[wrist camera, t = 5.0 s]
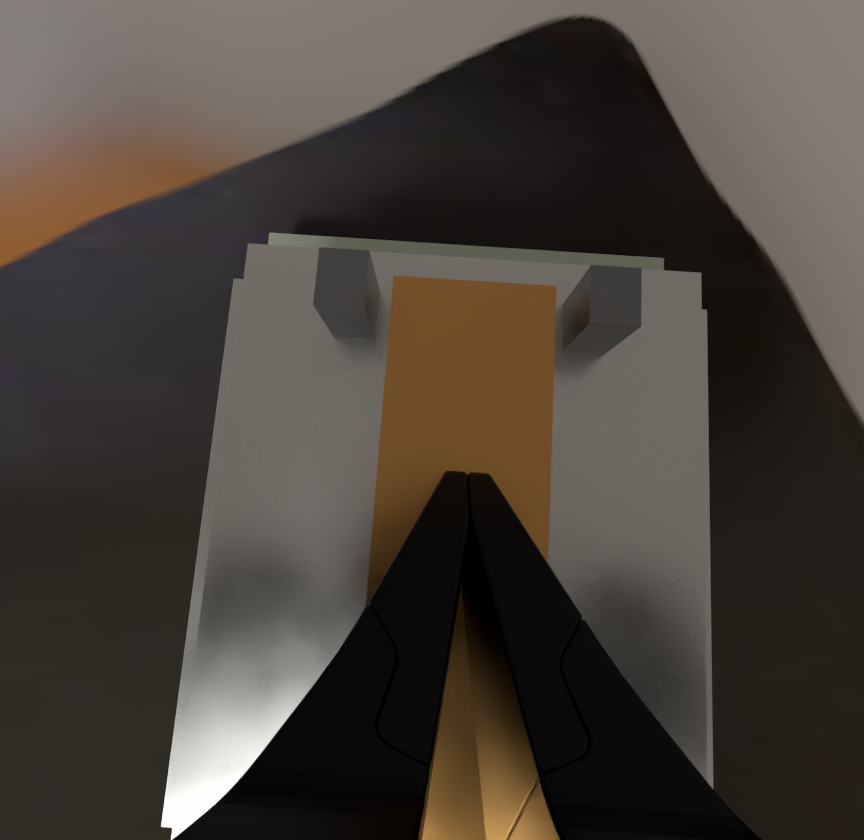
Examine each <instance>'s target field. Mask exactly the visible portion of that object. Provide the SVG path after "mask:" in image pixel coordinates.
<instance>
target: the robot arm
mask: <svg viewBox="0 0 864 840" xmlns="http://www.w3.org/2000/svg"><path fill="white" fill-rule="evenodd" d="M460 587H461V588H462V601H463V611H464V621H465V631H466V642H467V652H468V662H469V672H470V682H471V692H472V702H473V712H474V722H475V733H476V743H477V753H478V763H479V773H480V783H481V793H482V803H483V813H484V824H485V834H486V840H762V839H761V838H760V837H758V836H757V835H756V834H755V833H754V832H753V831H752V830H751V829H750V828H749V827H748V826H746V825H745V824H744V823H743V822H742V821H741V820H740V819H739V818H738V817H737V816H736V815H735V814H734V812H733V811H732V810H731V809H730V808H729V807H728V806H727V805H726V804H725V803H724V802H723V801H722V799H721V798H720V797H719V796H718V795H717V793H716V792H715V791H714V790H713V789H712V787H711V786H710V785H709V784H708V782H707V781H706V780H705V779H704V777H703V776H702V775H701V774H700V772H699V771H698V770H697V769H696V767H695V766H694V765H693V764H692V762H691V761H690V760H689V759H688V757H687V756H686V755H685V754H684V752H683V751H682V750H681V749H680V747H679V746H678V745H677V744H676V742H675V741H674V740H673V739H672V737H671V736H670V735H669V734H668V732H667V731H666V730H665V729H664V727H663V726H662V725H661V724H660V722H659V721H658V720H657V719H656V717H655V716H654V715H653V714H652V712H651V711H650V710H649V709H648V707H647V706H646V705H645V704H644V702H643V701H642V700H641V698H640V697H639V696H638V694H637V693H636V692H635V691H634V689H633V688H632V687H631V685H630V684H629V683H628V681H627V680H626V679H625V678H624V676H623V675H622V674H621V672H620V671H619V670H618V668H617V667H616V665H615V664H614V662H613V661H612V660H611V658H610V657H609V655H608V654H607V652H606V651H605V649H604V648H603V647H602V645H601V644H600V642H599V641H598V639H597V638H596V636H595V635H594V633H593V631H592V630H591V628H590V627H589V625H588V624H587V622H586V621H585V620H582V615H581V613H580V612H579V610H578V609H577V607H576V606H575V604H574V602H573V601H572V599H571V598H570V596H569V595H568V593H567V592H566V590H565V589H564V587H563V586H562V584H561V582H560V581H559V579H558V578H557V576H556V575H555V573H554V572H553V570H552V569H551V567H550V566H549V564H548V563H547V561H546V559H545V558H544V556H543V555H542V553H541V552H540V550H539V549H538V547H537V546H536V544H535V543H534V541H533V539H532V538H531V536H530V535H529V533H528V532H527V530H526V529H525V527H524V526H523V524H522V523H521V521H520V519H519V518H518V516H517V515H516V513H515V512H514V510H513V509H512V507H511V506H510V504H509V503H508V501H507V500H506V498H505V496H504V495H503V493H502V492H501V490H500V489H499V487H498V486H497V484H496V483H495V481H494V480H493V478H492V477H491V475H490V474H488V473H479V472H470V473H468V475H467V473H466V472H464V471H449V470H448V471H446V472H445V473H444V474H443V476H442V477H441V479H440V481H439V483H438V484H437V486H436V488H435V489H434V491H433V493H432V494H431V496H430V498H429V500H428V501H427V503H426V505H425V506H424V508H423V510H422V512H421V513H420V515H419V517H418V518H417V520H416V522H415V523H414V525H413V527H412V529H411V530H410V532H409V534H408V535H407V537H406V539H405V541H404V542H403V544H402V546H401V547H400V549H399V551H398V552H397V554H396V556H395V558H394V559H393V561H392V563H391V564H390V566H389V568H388V570H387V571H386V573H385V575H384V576H383V578H382V580H381V581H380V583H379V585H378V587H377V588H376V590H375V592H374V593H373V595H372V597H371V598H370V600H369V605H366V607H365V608H364V610H363V612H362V613H361V615H360V617H359V618H358V620H357V622H356V624H355V625H354V627H353V628H352V630H351V631H350V633H349V635H348V636H347V638H346V639H345V641H344V643H343V644H342V646H341V647H340V649H339V650H338V652H337V653H336V655H335V656H334V657H333V659H332V660H331V662H330V663H329V664H328V666H327V667H326V668H325V670H324V671H323V673H322V674H321V675H320V677H319V678H318V680H317V681H316V682H315V684H314V685H313V686H312V687H311V689H310V690H309V691H308V693H307V694H306V695H305V697H304V698H303V699H302V700H301V702H300V703H299V704H298V706H297V707H296V708H295V710H294V711H293V712H292V713H291V715H290V716H289V717H288V719H287V720H286V721H285V723H284V724H283V725H282V726H281V728H280V729H279V730H278V732H277V733H276V734H275V736H274V737H273V738H272V740H271V741H270V742H269V743H268V745H267V746H266V747H265V749H264V750H263V751H262V753H261V754H260V755H259V756H258V758H257V759H256V760H255V761H254V763H253V764H252V765H251V766H250V768H249V769H248V770H247V771H246V772H245V773H244V775H243V776H242V777H241V778H240V779H239V780H238V781H237V783H236V784H235V785H234V786H233V787H232V788H231V789H230V790H229V791H228V792H227V793H226V794H225V795H224V796H223V797H222V798H221V799H220V800H219V801H218V802H217V803H216V804H215V805H213V806H212V807H211V808H210V809H209V810H208V811H207V812H205V813H204V814H203V815H202V816H200V817H199V818H198V819H197V820H196V821H194V822H193V823H192V824H191V825H190V826H188V827H187V828H186V829H185V830H183V831H182V832H181V833H180V834H179V835H177V836H176V837H175V838H174V839H172V840H422V836H423V830H424V823H425V817H426V810H427V804H428V797H429V791H430V784H431V778H432V771H433V765H434V758H435V751H436V745H437V738H438V732H439V725H440V719H441V712H442V706H443V699H444V693H445V686H446V680H447V673H448V666H449V660H450V653H451V647H452V640H453V634H454V627H455V621H456V614H457V608H458V601H459V594H460Z"/></svg>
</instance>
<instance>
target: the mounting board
mask: <svg viewBox="0 0 864 840" xmlns="http://www.w3.org/2000/svg"><path fill="white" fill-rule="evenodd" d="M268 245H280V246H295V247H311V248H319V247H323V248H339V249H354V250H369V251H373V252H388V253H404V254H419V255H435V256H450V257H465V258H481V259H496V260H512V261H527V262H543V263H558V264H574V265H589V266H591V265H601V266H617V267H632V268H642V269H651V270H664V258H655V257H639V256H624V255H608V254H593V253H577V252H562V251H546V250H531V249H515V248H500V247H484V246H469V245H453V244H438V243H422V242H407V241H391V240H376V239H360V238H345V237H329V236H314V235H298V234H283V233H269V241H268Z"/></svg>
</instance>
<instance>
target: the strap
mask: <svg viewBox="0 0 864 840" xmlns="http://www.w3.org/2000/svg"><path fill="white" fill-rule="evenodd" d="M556 294H557V286H549V285H534V284H519V283H503V282H488V281H473V280H457V279H442V278H427V277H411V276H396V275H393V287H392V299H391V311H390V322H389V334H388V346H387V358H386V370H385V382H384V394H383V405H382V417H381V429H380V441H379V453H378V465H377V477H376V488H375V500H374V512H373V524H372V536H371V548H370V560H369V571H368V583H367V595H366V605H369V600H370V598H371V597H372V595H373V593H374V592H375V590H376V588H377V587H378V585H379V583H380V581H381V580H382V578H383V576H384V575H385V573H386V571H387V570H388V568H389V566H390V564H391V563H392V561H393V559H394V558H395V556H396V554H397V552H398V551H399V549H400V547H401V546H402V544H403V542H404V541H405V539H406V537H407V535H408V534H409V532H410V530H411V529H412V527H413V525H414V523H415V522H416V520H417V518H418V517H419V515H420V513H421V512H422V510H423V508H424V506H425V505H426V503H427V501H428V500H429V498H430V496H431V494H432V493H433V491H434V489H435V488H436V486H437V484H438V483H439V481H440V479H441V477H442V476H443V474H444V473H445V472H446V471H448V470H449V471H464V472H466V473H467V475H468V473H470V472H479V473H488V474H490V475H491V477H492V478H493V480H494V481H495V483H496V484H497V486H498V487H499V489H500V490H501V492H502V493H503V495H504V496H505V498H506V500H507V501H508V503H509V504H510V506H511V507H512V509H513V510H514V512H515V513H516V515H517V516H518V518H519V519H520V521H521V523H522V524H523V526H524V527H525V529H526V530H527V532H528V533H529V535H530V536H531V538H532V539H533V541H534V543H535V544H536V546H537V547H538V549H539V550H540V552H541V553H542V555H543V556H544V558H545V559H546V561H547V563H548V554H549V522H550V489H551V457H552V424H553V392H554V359H555V327H556ZM422 840H486V834H485V824H484V813H483V803H482V793H481V783H480V773H479V763H478V753H477V743H476V733H475V722H474V712H473V702H472V692H471V682H470V672H469V662H468V652H467V642H466V631H465V621H464V611H463V601H462V588H461V587H460V594H459V601H458V608H457V614H456V621H455V627H454V634H453V640H452V647H451V653H450V660H449V666H448V673H447V680H446V686H445V693H444V699H443V706H442V712H441V719H440V725H439V732H438V738H437V745H436V751H435V758H434V765H433V771H432V778H431V784H430V791H429V797H428V804H427V810H426V817H425V823H424V830H423V836H422Z"/></svg>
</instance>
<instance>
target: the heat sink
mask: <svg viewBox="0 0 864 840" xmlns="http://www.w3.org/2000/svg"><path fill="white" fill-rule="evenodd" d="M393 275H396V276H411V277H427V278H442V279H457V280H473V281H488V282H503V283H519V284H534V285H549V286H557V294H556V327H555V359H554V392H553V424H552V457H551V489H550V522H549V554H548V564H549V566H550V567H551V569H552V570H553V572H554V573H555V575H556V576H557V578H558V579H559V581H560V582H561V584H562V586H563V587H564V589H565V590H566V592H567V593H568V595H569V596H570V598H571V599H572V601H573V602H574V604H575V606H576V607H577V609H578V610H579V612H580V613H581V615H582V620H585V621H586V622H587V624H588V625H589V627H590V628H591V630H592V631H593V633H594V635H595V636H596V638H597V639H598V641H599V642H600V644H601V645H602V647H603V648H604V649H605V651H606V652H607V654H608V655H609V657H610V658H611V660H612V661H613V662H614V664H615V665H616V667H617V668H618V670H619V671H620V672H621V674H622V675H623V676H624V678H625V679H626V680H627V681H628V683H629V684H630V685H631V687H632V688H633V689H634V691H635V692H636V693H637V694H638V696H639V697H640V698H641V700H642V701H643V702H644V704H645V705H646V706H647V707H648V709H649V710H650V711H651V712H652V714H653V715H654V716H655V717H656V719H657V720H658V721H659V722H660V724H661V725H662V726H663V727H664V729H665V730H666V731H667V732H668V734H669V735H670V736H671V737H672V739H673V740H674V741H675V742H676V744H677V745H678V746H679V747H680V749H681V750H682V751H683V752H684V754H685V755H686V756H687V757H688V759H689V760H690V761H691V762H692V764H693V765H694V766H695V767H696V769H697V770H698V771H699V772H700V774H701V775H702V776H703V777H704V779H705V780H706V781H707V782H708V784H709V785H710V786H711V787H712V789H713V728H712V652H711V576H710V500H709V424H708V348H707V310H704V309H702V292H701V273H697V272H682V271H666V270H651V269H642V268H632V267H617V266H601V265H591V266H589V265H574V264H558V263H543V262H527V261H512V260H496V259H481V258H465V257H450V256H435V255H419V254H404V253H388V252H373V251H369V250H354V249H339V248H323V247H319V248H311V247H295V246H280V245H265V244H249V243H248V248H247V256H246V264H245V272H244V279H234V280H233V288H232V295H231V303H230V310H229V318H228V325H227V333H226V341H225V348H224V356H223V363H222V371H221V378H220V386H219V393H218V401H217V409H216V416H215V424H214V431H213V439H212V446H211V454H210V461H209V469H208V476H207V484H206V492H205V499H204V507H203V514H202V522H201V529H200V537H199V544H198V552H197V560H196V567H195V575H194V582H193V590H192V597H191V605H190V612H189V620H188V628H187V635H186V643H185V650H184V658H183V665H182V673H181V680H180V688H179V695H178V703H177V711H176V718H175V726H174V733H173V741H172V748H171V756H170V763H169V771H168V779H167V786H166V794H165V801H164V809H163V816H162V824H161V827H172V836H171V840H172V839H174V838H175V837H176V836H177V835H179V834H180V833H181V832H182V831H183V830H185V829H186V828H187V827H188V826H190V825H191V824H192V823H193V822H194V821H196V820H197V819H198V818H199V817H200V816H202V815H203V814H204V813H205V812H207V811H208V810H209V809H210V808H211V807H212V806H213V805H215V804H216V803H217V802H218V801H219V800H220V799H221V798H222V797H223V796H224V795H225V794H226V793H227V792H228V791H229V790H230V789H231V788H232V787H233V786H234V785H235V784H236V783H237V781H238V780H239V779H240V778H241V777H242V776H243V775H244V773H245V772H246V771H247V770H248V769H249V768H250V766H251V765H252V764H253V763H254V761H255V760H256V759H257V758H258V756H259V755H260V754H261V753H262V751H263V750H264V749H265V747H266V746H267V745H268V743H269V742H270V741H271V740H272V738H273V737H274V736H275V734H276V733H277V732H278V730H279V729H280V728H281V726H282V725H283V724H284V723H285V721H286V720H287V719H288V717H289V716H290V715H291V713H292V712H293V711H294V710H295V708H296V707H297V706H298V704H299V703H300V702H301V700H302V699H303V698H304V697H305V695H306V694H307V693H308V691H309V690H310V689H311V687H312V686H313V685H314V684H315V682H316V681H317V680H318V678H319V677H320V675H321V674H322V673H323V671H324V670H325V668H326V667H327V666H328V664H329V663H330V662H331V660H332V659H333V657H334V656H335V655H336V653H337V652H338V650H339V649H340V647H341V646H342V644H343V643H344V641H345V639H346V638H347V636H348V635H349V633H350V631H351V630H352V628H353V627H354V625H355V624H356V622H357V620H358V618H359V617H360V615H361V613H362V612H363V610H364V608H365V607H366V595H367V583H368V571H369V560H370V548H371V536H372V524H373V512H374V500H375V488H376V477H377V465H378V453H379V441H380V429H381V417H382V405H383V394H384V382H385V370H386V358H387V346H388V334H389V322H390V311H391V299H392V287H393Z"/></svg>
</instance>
